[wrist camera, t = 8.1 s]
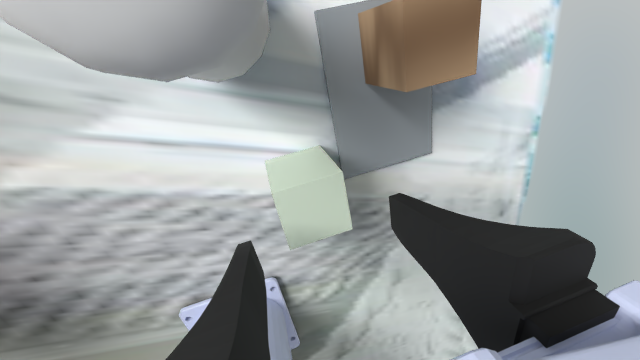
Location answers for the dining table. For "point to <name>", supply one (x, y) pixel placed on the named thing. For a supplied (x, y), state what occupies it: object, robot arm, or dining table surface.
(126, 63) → the salt shaker
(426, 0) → the walnut block
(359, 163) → the slate mat
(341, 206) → the sage block
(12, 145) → the dining table surface
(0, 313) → the dining table surface
